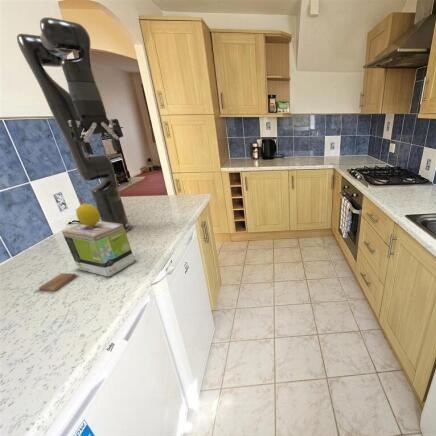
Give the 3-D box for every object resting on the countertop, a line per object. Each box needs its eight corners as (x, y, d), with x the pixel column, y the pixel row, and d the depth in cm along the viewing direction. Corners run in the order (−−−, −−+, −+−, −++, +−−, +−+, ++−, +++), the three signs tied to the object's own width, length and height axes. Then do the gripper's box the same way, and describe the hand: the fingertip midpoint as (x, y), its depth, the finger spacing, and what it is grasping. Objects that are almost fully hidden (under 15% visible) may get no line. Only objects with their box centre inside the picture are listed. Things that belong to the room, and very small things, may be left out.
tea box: (136, 261, 86) (124, 223, 80) (108, 278, 77) (92, 236, 71) (106, 254, 90) (92, 218, 84) (77, 269, 82) (59, 230, 76)
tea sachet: (40, 290, 72) (38, 287, 72) (62, 275, 79) (61, 273, 78) (55, 290, 72) (53, 288, 71) (76, 276, 78) (75, 273, 78)
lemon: (89, 223, 80) (80, 200, 77) (107, 222, 81) (99, 199, 77) (77, 230, 75) (67, 206, 72) (96, 229, 76) (87, 205, 72)
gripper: (104, 100, 83) (118, 149, 89) (52, 99, 71) (73, 155, 78) (117, 99, 80) (131, 150, 86) (66, 97, 68) (87, 156, 75)
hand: (104, 152), depth 82 cm, fingers open, 8 cm apart
